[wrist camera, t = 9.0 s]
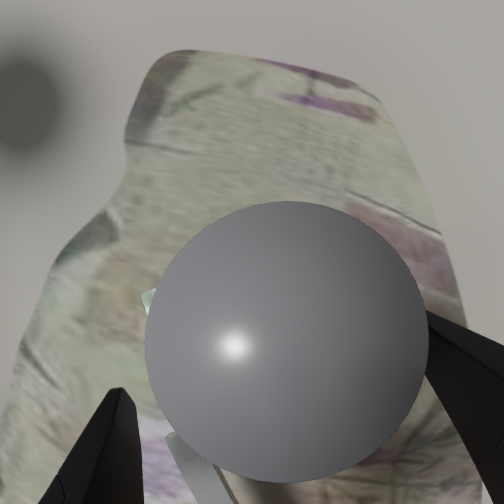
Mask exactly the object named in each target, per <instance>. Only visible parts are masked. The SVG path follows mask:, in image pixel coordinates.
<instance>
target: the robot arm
mask: <svg viewBox="0 0 504 504" xmlns="http://www.w3.org/2000/svg"><path fill="white" fill-rule="evenodd" d="M425 311H426V316H427V323H428V338H429V344H428V357H427V365H426V370H425V373H424V374H425V376H426V377H427V379H428V381H429V382H430V384H431V386H432V387H433V389H434V391H435V393H436V394H437V396H438V398H439V399H440V401H441V403H442V405H443V406H444V408H445V410H446V412H447V413H448V415H449V417H450V419H451V421H452V422H453V424H454V426H455V428H456V430H457V431H458V433H459V435H460V437H461V439H462V441H463V443H464V444H465V446H466V448H467V450H468V452H469V454H470V456H471V458H472V460H473V462H474V464H475V466H476V468H477V470H478V472H479V474H480V476H481V478H482V480H483V482H484V484H485V486H486V489H487V491H488V493H489V495H490V497H491V499H492V502H493V504H504V345H501V344H499V343H497V342H495V341H493V340H491V339H488V338H486V337H484V336H482V335H480V334H478V333H475V332H473V331H471V330H469V329H467V328H464V327H462V326H460V325H458V324H456V323H453V322H451V321H449V320H447V319H445V318H442V317H440V316H438V315H436V314H434V313H431V312H429V311H427V310H425ZM38 504H144V492H143V474H142V451H141V443H140V436H139V428H138V420H137V411H136V406H135V403H134V402H133V400H132V399H131V397H130V396H129V395H128V393H127V392H126V390H125V389H124V388H122V387H119V388H112V389H110V390H109V391H108V393H107V394H106V396H105V397H104V399H103V400H102V402H101V404H100V405H99V407H98V408H97V410H96V411H95V413H94V414H93V416H92V418H91V419H90V421H89V422H88V424H87V426H86V427H85V429H84V430H83V432H82V434H81V435H80V437H79V438H78V440H77V442H76V443H75V445H74V446H73V448H72V450H71V451H70V453H69V455H68V456H67V458H66V460H65V461H64V463H63V464H62V466H61V468H60V469H59V471H58V475H56V476H55V478H54V479H53V481H52V483H51V484H50V486H49V488H48V489H47V491H46V492H45V494H44V495H43V497H42V498H41V500H40V501H39V503H38Z"/></svg>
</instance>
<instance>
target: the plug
mask: <svg viewBox="0 0 504 504" xmlns="http://www.w3.org/2000/svg"><path fill="white" fill-rule="evenodd" d="M428 344H429V338H428V323H427V316H426V311H425V307H424V303H423V299H422V296H421V294H420V291H419V288H418V286H417V283H416V281H415V279H414V277H413V275H412V274H411V272H410V270H409V268H408V266H407V265H406V264H405V262H404V261H403V259H402V258H401V257H400V255H399V254H398V253H397V251H396V250H395V249H394V248H393V247H392V246H391V245H390V244H389V243H388V242H387V241H386V240H385V239H384V238H383V237H382V236H381V235H379V234H378V233H377V232H376V231H375V230H373V229H372V228H371V227H369V226H368V225H366V224H365V223H363V222H361V221H360V220H358V219H356V218H354V217H352V216H350V215H348V214H346V213H344V212H342V211H339V210H336V209H333V208H330V207H327V206H323V205H318V204H313V203H308V202H295V201H283V202H270V203H264V204H259V205H254V206H250V207H247V208H244V209H241V210H238V211H235V212H233V213H231V214H229V215H227V216H224V217H222V218H220V219H218V220H217V221H215V222H214V223H212V224H210V225H209V226H207V227H206V228H204V229H203V230H202V231H200V232H199V233H198V234H197V235H196V236H194V237H193V238H192V239H191V240H190V241H189V242H188V243H187V244H186V245H185V246H184V247H183V248H182V249H181V250H180V251H179V252H178V253H177V255H176V256H175V257H174V259H173V260H172V262H171V263H170V264H169V266H168V267H167V269H166V270H165V272H164V274H163V276H162V278H161V280H160V281H159V283H158V285H157V287H156V290H155V293H154V296H153V298H152V301H151V304H150V308H149V312H148V317H147V321H146V330H145V359H146V366H147V371H148V376H149V381H150V384H151V387H152V390H153V392H154V395H155V398H156V400H157V402H158V404H159V406H160V408H161V410H162V412H163V414H164V416H165V417H166V419H167V420H168V422H169V423H170V424H171V426H172V427H173V429H174V430H175V431H176V433H177V434H178V435H179V436H180V437H181V438H182V439H183V440H184V441H185V442H186V443H187V444H188V445H189V446H190V447H191V448H192V449H193V450H195V451H196V452H197V453H199V454H200V455H201V456H202V457H204V458H205V459H207V460H208V461H210V462H212V463H213V464H215V465H217V466H219V467H220V468H222V469H224V470H227V471H229V472H232V473H234V474H237V475H239V476H243V477H246V478H250V479H254V480H258V481H266V482H275V483H294V482H304V481H310V480H316V479H320V478H323V477H326V476H330V475H333V474H336V473H338V472H340V471H343V470H345V469H347V468H349V467H351V466H353V465H355V464H357V463H358V462H360V461H362V460H363V459H365V458H366V457H368V456H369V455H371V454H372V453H373V452H374V451H376V450H377V449H378V448H379V447H380V446H382V445H383V444H384V443H385V442H386V441H387V440H388V439H389V438H390V436H391V435H392V434H393V433H394V432H395V431H396V430H397V428H398V427H399V426H400V424H401V423H402V422H403V420H404V419H405V418H406V416H407V414H408V413H409V411H410V409H411V407H412V405H413V404H414V402H415V400H416V397H417V395H418V392H419V390H420V387H421V385H422V381H423V377H424V373H425V370H426V365H427V357H428Z"/></svg>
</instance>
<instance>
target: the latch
mask: <svg viewBox="0 0 504 504" xmlns="http://www.w3.org/2000/svg"><path fill="white" fill-rule="evenodd" d="M164 439H165V441H166V443H167V445H168V447H169V449H170V451H171V453H172V455H173V457H174V459H175V461H176V463H177V465H178V467H179V469H180V471H181V473H182V475H183V477H184V479H185V481H186V483H187V484H188V486H189V488H190V490H191V492H192V493H193V495H194V497H195V499H196V501H197V502H198V504H239V503H238V501H237V499H236V497H235V496H234V494H233V492H232V490H231V488H230V486H229V485H228V483H227V481H226V479H225V477H224V475H223V473H222V471H221V469H220V467H219V466H217V465H215V464H213V463H212V462H210V461H208V460H207V459H205V458H204V457H202V456H201V455H200V454H199V453H197V452H196V451H195V450H193V449H192V448H191V447H190V446H189V445H188V444H187V443H186V442H185V441H184V440H183V439H182V438H181V437H180V436H179V435H178V434H177V433H176V431H175V432H172V433H169V434H168V435H167V436H166V437H165V438H164Z"/></svg>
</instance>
